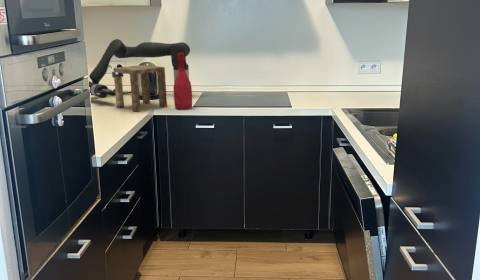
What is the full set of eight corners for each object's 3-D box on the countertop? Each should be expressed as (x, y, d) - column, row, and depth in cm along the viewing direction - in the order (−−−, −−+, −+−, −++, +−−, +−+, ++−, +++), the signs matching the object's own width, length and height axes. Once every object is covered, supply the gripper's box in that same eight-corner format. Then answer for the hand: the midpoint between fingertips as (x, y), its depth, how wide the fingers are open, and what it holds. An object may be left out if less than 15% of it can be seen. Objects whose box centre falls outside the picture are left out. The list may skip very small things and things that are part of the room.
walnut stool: (147, 102, 281) (144, 64, 276) (167, 106, 267) (164, 67, 261) (114, 107, 267) (111, 68, 262) (133, 112, 253) (130, 70, 247)
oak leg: (121, 106, 270) (118, 73, 265) (124, 107, 268) (121, 74, 263) (116, 107, 268) (113, 74, 263) (119, 108, 266) (116, 74, 261)
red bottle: (196, 107, 264) (193, 52, 256) (185, 110, 256) (182, 53, 248) (181, 105, 269) (179, 51, 261) (170, 108, 261) (167, 53, 253)
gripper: (88, 85, 277) (102, 88, 265) (109, 83, 286) (124, 86, 273) (89, 98, 279) (104, 102, 267) (110, 95, 288) (125, 99, 275)
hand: (114, 94), depth 270 cm, fingers closed
